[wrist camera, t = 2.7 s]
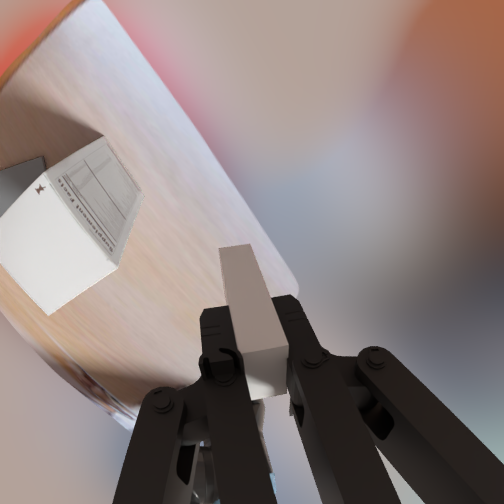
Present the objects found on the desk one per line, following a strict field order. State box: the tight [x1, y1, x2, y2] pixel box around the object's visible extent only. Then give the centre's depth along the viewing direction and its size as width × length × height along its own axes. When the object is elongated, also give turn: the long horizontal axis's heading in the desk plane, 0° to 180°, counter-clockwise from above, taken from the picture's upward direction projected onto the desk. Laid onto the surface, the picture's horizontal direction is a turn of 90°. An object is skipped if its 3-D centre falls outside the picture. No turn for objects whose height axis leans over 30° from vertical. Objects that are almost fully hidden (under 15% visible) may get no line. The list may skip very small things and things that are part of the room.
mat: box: [0, 156, 46, 217], centre depth 31 cm, size 13×17×1 cm
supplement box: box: [0, 136, 144, 316], centre depth 26 cm, size 10×9×17 cm
